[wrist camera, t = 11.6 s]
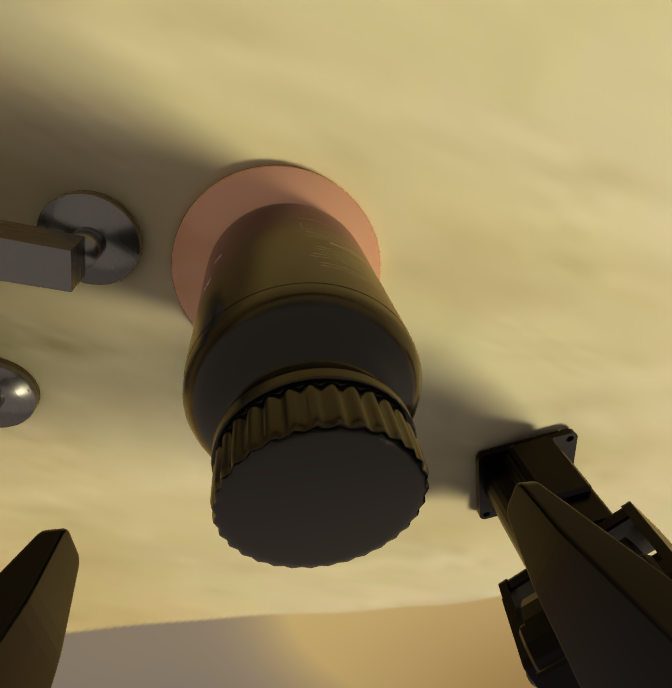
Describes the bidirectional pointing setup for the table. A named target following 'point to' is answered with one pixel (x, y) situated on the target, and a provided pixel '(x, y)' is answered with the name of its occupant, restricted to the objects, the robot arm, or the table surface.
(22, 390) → the jointed grey bar linkage
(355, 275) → the supplement bottle
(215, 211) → the peach domed disc
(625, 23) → the table surface
